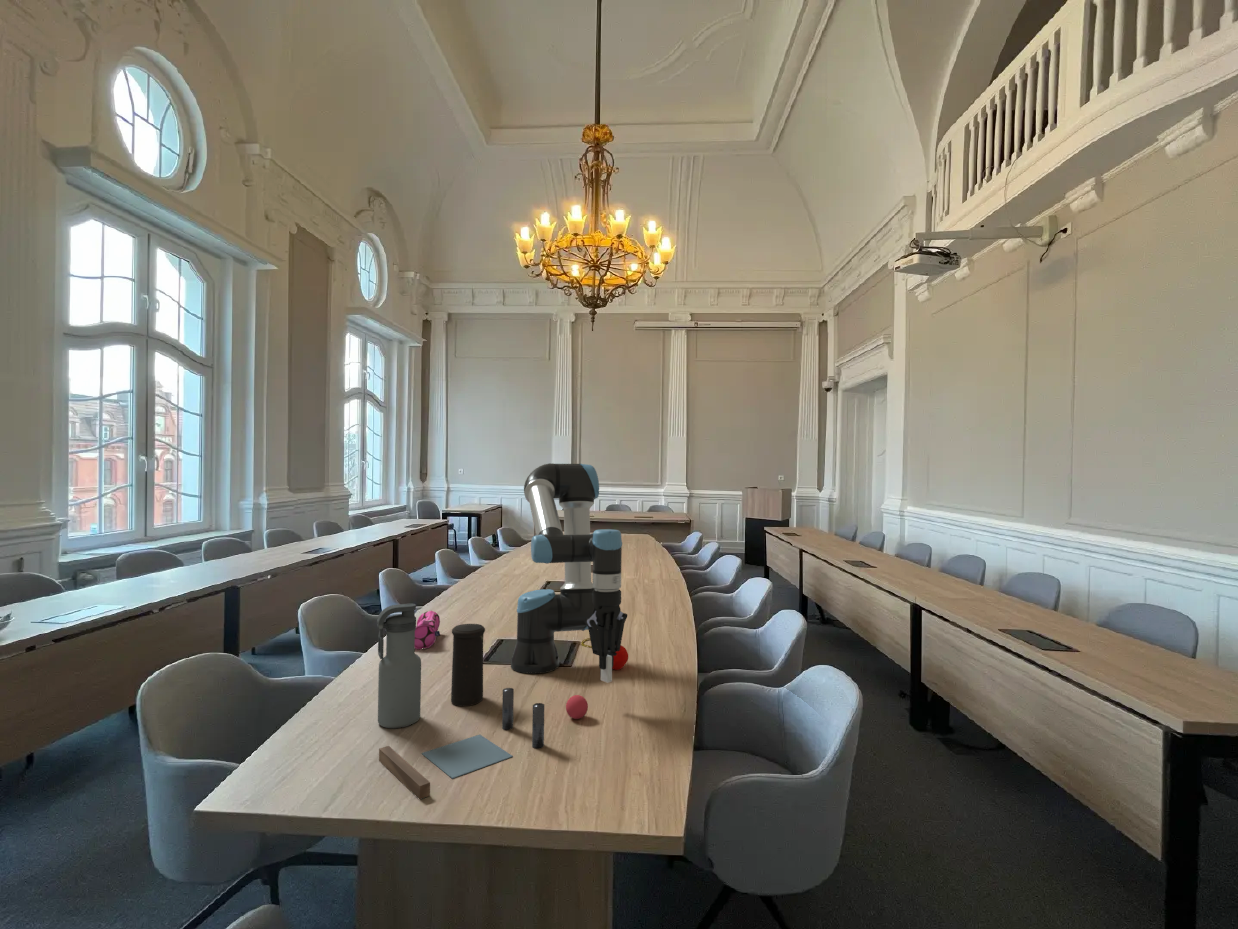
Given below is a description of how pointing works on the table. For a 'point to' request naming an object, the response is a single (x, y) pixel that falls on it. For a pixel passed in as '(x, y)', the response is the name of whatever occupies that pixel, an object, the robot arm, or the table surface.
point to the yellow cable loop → (586, 645)
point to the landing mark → (466, 756)
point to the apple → (620, 658)
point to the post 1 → (507, 708)
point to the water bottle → (398, 668)
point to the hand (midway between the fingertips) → (606, 680)
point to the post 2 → (538, 726)
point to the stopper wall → (404, 772)
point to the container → (467, 664)
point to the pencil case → (427, 629)
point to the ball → (576, 706)
